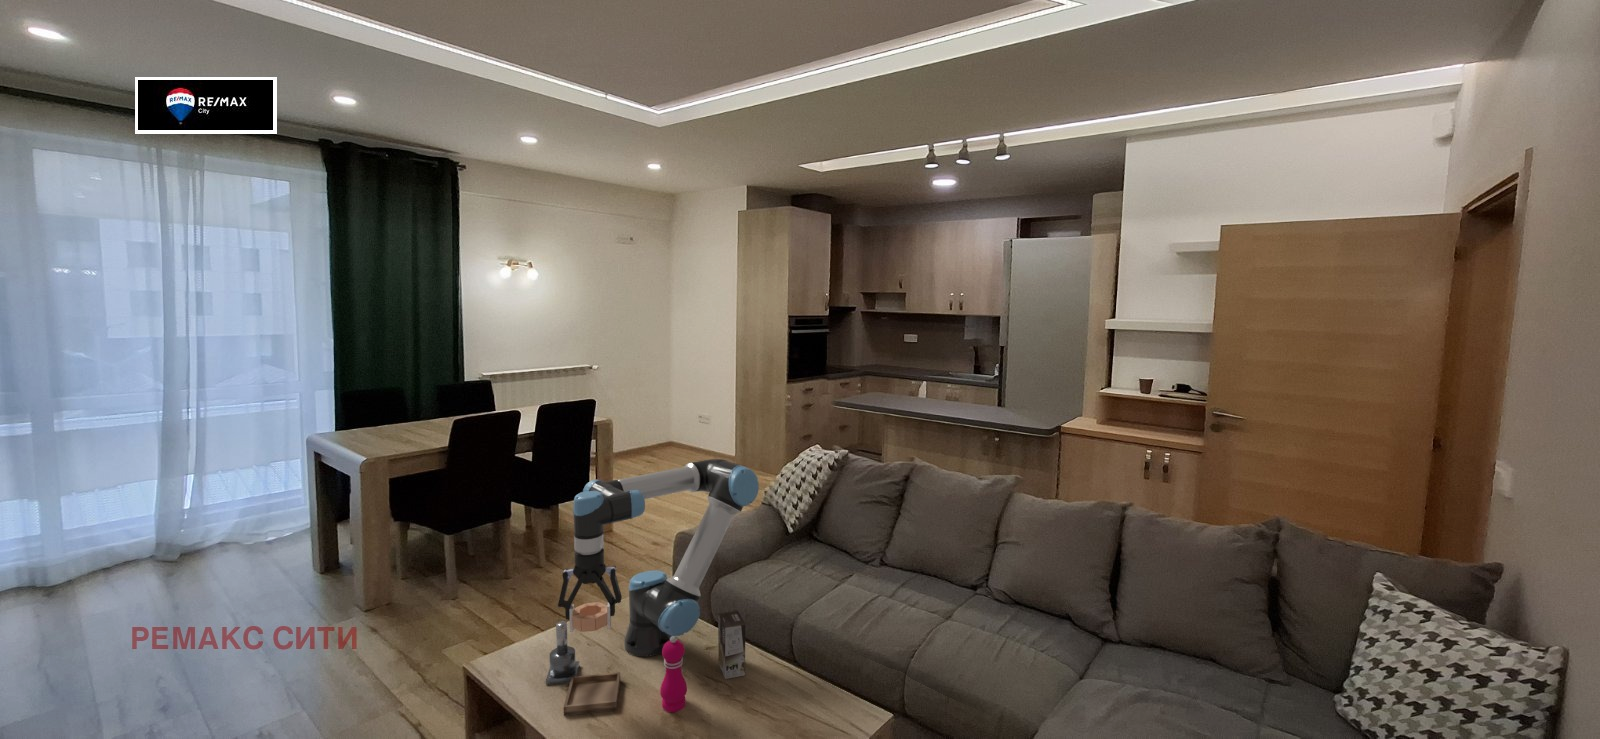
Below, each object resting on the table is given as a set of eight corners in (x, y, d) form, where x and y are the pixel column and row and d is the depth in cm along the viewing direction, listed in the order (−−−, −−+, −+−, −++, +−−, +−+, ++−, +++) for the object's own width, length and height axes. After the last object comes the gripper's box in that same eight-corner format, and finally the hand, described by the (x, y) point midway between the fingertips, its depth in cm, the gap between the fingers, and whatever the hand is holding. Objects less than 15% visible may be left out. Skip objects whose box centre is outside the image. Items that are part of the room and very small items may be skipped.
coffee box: (745, 675, 187) (746, 624, 185) (724, 679, 185) (724, 628, 183) (738, 658, 196) (738, 609, 194) (717, 662, 193) (717, 612, 191)
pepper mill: (674, 717, 168) (673, 646, 166) (654, 707, 172) (653, 638, 170) (692, 702, 175) (692, 634, 172) (673, 693, 178) (672, 626, 176)
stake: (579, 665, 190) (577, 615, 188) (575, 681, 183) (573, 629, 181) (551, 668, 189) (549, 617, 187) (545, 684, 181) (544, 632, 179)
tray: (620, 680, 184) (620, 672, 183) (616, 710, 171) (615, 701, 170) (571, 684, 181) (571, 676, 181) (563, 715, 168) (563, 707, 168)
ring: (605, 630, 170) (605, 617, 169) (570, 632, 168) (570, 620, 167) (609, 613, 178) (609, 601, 178) (576, 615, 177) (575, 603, 176)
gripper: (631, 541, 176) (632, 618, 179) (549, 546, 172) (551, 624, 175) (629, 552, 169) (630, 632, 172) (543, 557, 165) (546, 638, 168)
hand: (590, 628), depth 173 cm, fingers closed on ring, 9 cm apart
